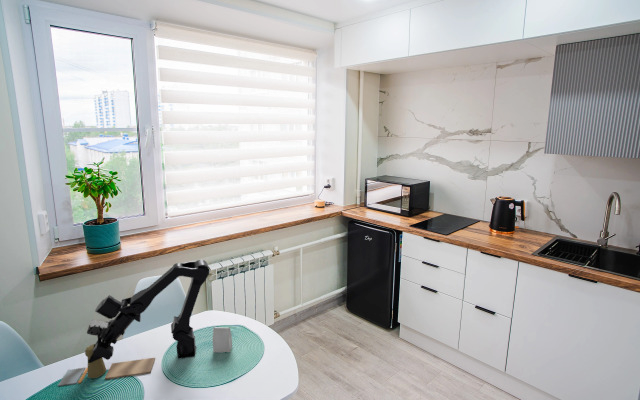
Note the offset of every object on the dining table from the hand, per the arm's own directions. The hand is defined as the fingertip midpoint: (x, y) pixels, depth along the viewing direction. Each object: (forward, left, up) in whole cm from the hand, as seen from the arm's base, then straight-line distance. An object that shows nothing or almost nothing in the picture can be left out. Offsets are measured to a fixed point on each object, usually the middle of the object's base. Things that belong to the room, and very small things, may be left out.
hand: (90, 358), depth 133 cm
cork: (-1, 0, -7) cm, 7 cm away
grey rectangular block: (-47, -5, -7) cm, 48 cm away
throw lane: (-5, 0, -7) cm, 9 cm away
